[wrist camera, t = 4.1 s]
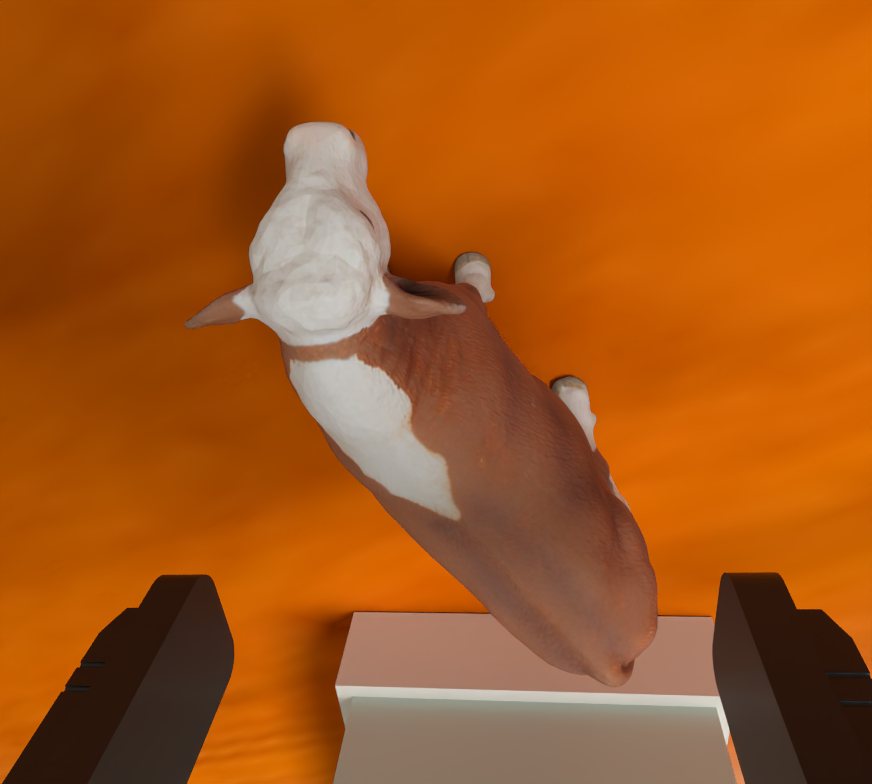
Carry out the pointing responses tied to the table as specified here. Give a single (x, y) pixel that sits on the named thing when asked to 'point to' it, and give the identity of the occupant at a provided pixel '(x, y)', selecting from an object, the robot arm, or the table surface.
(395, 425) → the bull figurine
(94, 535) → the table surface
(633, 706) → the white stepped block
